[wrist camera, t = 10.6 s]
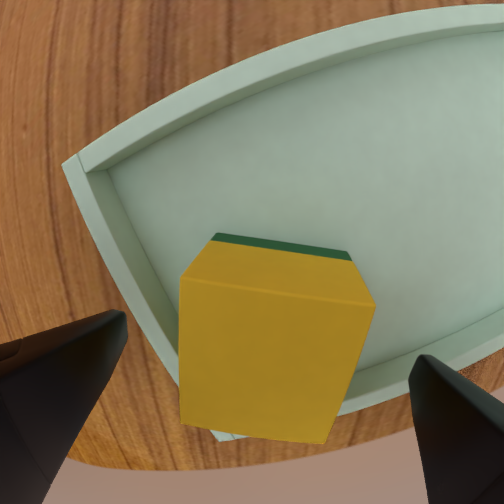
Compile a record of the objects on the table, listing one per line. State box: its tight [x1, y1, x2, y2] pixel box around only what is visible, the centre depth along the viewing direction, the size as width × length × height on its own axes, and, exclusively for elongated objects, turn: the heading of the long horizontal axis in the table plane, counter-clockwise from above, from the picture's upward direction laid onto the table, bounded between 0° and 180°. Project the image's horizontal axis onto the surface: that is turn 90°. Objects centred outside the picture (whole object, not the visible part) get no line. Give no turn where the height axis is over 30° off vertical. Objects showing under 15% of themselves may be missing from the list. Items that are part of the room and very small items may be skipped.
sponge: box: [178, 232, 376, 444], centre depth 10 cm, size 5×4×4 cm
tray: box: [62, 4, 504, 442], centre depth 10 cm, size 20×13×2 cm, turn 113°
